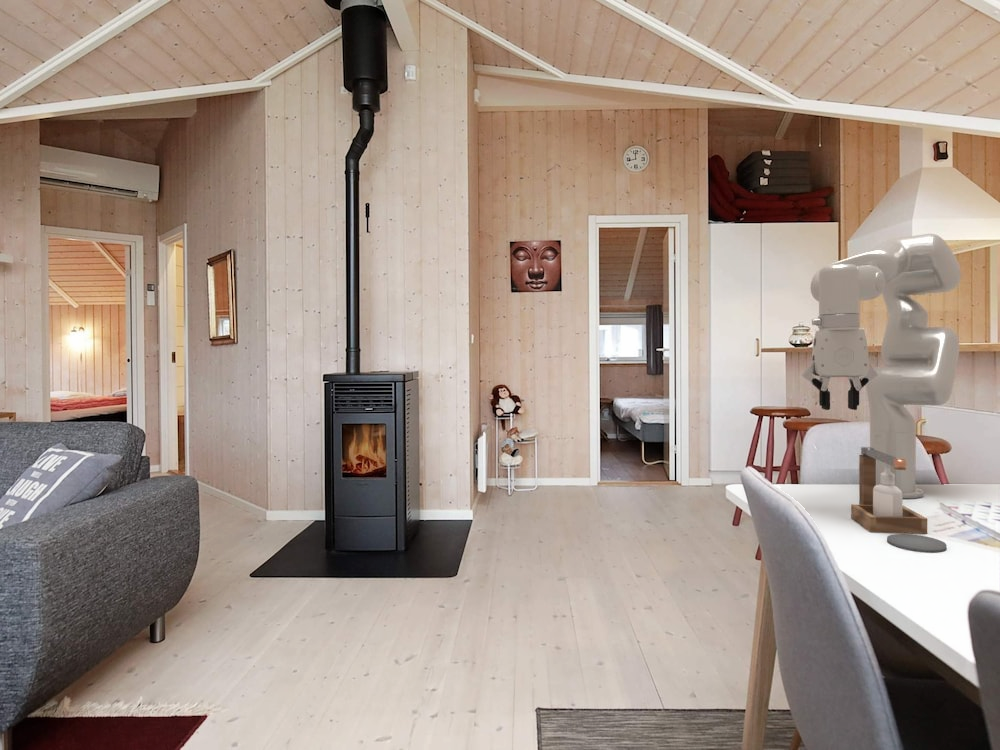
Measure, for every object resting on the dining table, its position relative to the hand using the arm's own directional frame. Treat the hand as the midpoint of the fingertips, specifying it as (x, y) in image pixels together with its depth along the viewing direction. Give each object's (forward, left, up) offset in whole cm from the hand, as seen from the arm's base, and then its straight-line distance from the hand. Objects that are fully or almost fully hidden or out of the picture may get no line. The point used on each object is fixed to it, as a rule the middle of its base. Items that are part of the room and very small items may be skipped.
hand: (839, 408), depth 129 cm
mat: (+18, +7, -23) cm, 30 cm away
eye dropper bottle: (+6, +7, -24) cm, 25 cm away
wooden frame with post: (+3, +7, -23) cm, 25 cm away
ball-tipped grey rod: (+4, +7, -11) cm, 13 cm away
